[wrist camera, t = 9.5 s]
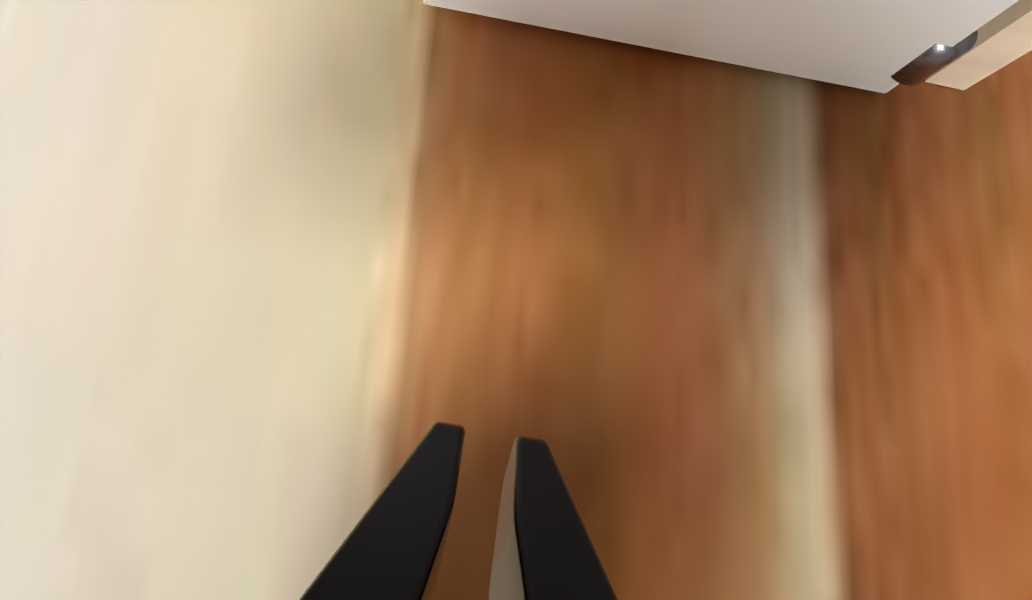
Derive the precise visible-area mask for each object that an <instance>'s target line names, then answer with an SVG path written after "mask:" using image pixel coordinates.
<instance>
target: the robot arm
mask: <svg viewBox="0 0 1032 600" xmlns="http://www.w3.org/2000/svg"><path fill="white" fill-rule="evenodd" d="M464 435H465V429H464V427H463V426H461V425H456V424H451V423H445V422H436V423H435V424H434V425H433V426H432V427H431V428H430V429H429V431H428V432H427V433H426V435H425V436H424V437H423V439H422V440H421V441H420V442H419V444H418V445H417V446H416V448H415V449H414V450H413V452H412V453H411V454H410V456H409V457H408V458H407V459H406V461H405V462H404V463H403V465H402V466H401V467H400V469H399V470H398V471H397V473H396V474H395V475H394V477H393V478H392V479H391V480H390V482H389V483H388V484H387V486H386V487H385V488H384V490H383V491H382V492H381V494H380V495H379V496H378V497H377V499H376V500H375V501H374V503H373V504H372V505H371V507H370V508H369V509H368V511H367V512H366V513H365V514H364V516H363V517H362V518H361V520H360V521H359V522H358V524H357V525H356V526H355V528H354V529H353V530H352V531H351V533H350V534H349V535H348V537H347V538H346V539H345V541H344V542H343V543H342V545H341V546H340V547H339V549H338V550H337V551H336V552H335V554H334V555H333V556H332V558H331V559H330V560H329V562H328V563H327V564H326V566H325V567H324V568H323V569H322V571H321V572H320V573H319V575H318V576H317V577H316V579H315V580H314V581H313V583H312V584H311V585H310V586H309V588H308V589H307V590H306V592H305V593H304V594H303V596H302V597H301V598H300V600H432V599H433V595H434V591H435V588H436V583H437V579H438V574H439V569H440V565H441V560H442V556H443V551H444V546H445V542H446V537H447V533H448V528H449V523H450V519H451V514H452V510H453V505H454V500H455V495H456V489H457V482H458V475H459V469H460V462H461V455H462V449H463V442H464ZM488 600H617V597H616V595H615V593H614V591H613V589H612V586H611V584H610V582H609V580H608V577H607V575H606V573H605V571H604V569H603V566H602V564H601V562H600V560H599V557H598V555H597V553H596V551H595V549H594V546H593V544H592V542H591V540H590V537H589V535H588V533H587V531H586V529H585V526H584V524H583V522H582V520H581V518H580V515H579V513H578V511H577V509H576V506H575V504H574V502H573V500H572V498H571V495H570V493H569V491H568V489H567V486H566V484H565V482H564V480H563V478H562V475H561V473H560V471H559V469H558V466H557V464H556V462H555V460H554V458H553V455H552V453H551V451H550V449H549V447H548V445H547V443H546V442H545V441H544V440H541V439H537V438H531V437H525V436H518V437H516V439H515V440H514V443H513V447H512V450H511V454H510V457H509V461H508V464H507V468H506V471H505V475H504V480H503V486H502V493H501V500H500V508H499V516H498V523H497V531H496V538H495V546H494V554H493V561H492V569H491V577H490V586H489V598H488Z"/></svg>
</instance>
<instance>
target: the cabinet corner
mask: <svg viewBox="0 0 1032 600" xmlns="http://www.w3.org/2000/svg"><path fill="white" fill-rule="evenodd" d="M1031 50H1032V0H1019V1H1017V2H1016V3H1014V4H1013V5H1012V6H1010V7H1009V8H1007V9H1006V10H1004V11H1003V12H1002V13H1000V14H999V15H997V16H996V17H994V18H993V19H991V20H990V21H989V22H987V23H986V24H984V25H983V26H981V27H980V28H979V29H978V36H977V40H976V43H975V44H974V46H973V47H972V48H971V49H970V50H968V51H967V52H965V53H964V54H962V55H961V56H959V57H958V58H956V59H955V60H953V61H952V62H950V63H949V64H947V65H946V66H945V67H943V68H942V69H940V70H939V71H937V72H936V73H934V74H933V75H931V76H930V77H928V78H927V79H925V82H928V83H932V84H937V85H942V86H946V87H951V88H955V89H960V90H965V89H967V88H969V87H970V86H972V85H974V84H975V83H977V82H979V81H980V80H982V79H984V78H986V77H987V76H989V75H991V74H992V73H994V72H996V71H997V70H999V69H1001V68H1002V67H1004V66H1006V65H1007V64H1009V63H1011V62H1012V61H1014V60H1016V59H1017V58H1019V57H1021V56H1022V55H1024V54H1026V53H1027V52H1029V51H1031Z"/></svg>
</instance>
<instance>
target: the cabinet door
mask: <svg viewBox="0 0 1032 600" xmlns="http://www.w3.org/2000/svg"><path fill="white" fill-rule="evenodd" d="M1017 1H1019V0H423V4H427V5H432V6H437V7H442V8H447V9H452V10H457V11H463V12H468V13H473V14H478V15H483V16H488V17H494V18H499V19H504V20H509V21H514V22H519V23H524V24H530V25H535V26H540V27H545V28H550V29H555V30H560V31H566V32H571V33H576V34H581V35H586V36H591V37H597V38H602V39H607V40H612V41H617V42H622V43H627V44H633V45H638V46H643V47H648V48H653V49H658V50H663V51H669V52H674V53H679V54H684V55H689V56H694V57H700V58H705V59H710V60H715V61H720V62H725V63H730V64H736V65H741V66H746V67H751V68H756V69H761V70H766V71H772V72H777V73H782V74H787V75H792V76H797V77H803V78H808V79H813V80H818V81H823V82H828V83H833V84H839V85H844V86H849V87H854V88H859V89H864V90H870V91H875V92H880V93H887V92H888V91H890V90H891V89H893V88H894V87H896V86H897V85H898V84H903V85H908V86H911V85H916V84H919V83H921V82H922V81H924V80H925V79H927V78H928V77H930V76H931V75H933V74H934V73H936V72H937V71H939V70H940V69H942V68H943V67H945V66H946V65H947V64H949V63H950V62H952V61H953V60H955V59H956V58H958V57H959V56H961V55H962V54H964V53H965V52H967V51H968V50H970V49H971V48H972V47H973V46H974V44H975V43H976V40H977V36H978V29H979V28H980V27H981V26H983V25H984V24H986V23H987V22H989V21H990V20H991V19H993V18H994V17H996V16H997V15H999V14H1000V13H1002V12H1003V11H1004V10H1006V9H1007V8H1009V7H1010V6H1012V5H1013V4H1014V3H1016V2H1017Z"/></svg>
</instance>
